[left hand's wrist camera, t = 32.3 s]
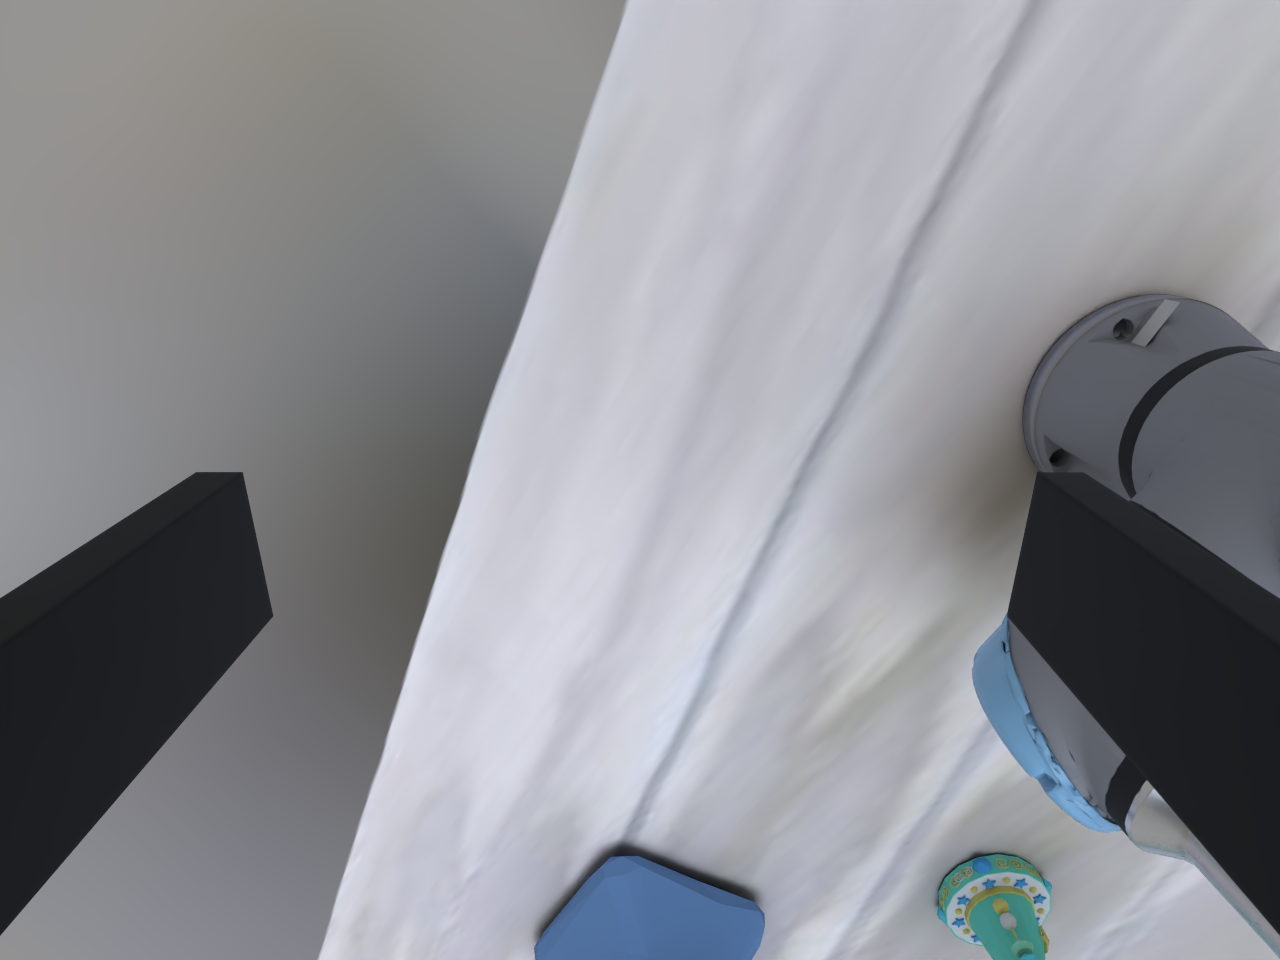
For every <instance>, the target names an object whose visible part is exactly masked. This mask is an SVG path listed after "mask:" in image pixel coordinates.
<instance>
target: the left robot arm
mask: <svg viewBox="0 0 1280 960" xmlns="http://www.w3.org/2000/svg"><path fill="white" fill-rule="evenodd" d="M1023 430H1024V438H1025V442H1026V446H1027V449H1028V451H1029V454H1030V456H1031V458H1032V460H1033V462H1034V463H1035V465H1036V466H1037V468H1038V469H1039V470H1040V471H1041V472H1037V476H1036V481H1035V486H1034V491H1033V495H1032V500H1031V505H1030V509H1029V514H1028V519H1027V523H1026V528H1025V533H1024V538H1023V542H1022V547H1021V552H1020V556H1019V561H1018V566H1017V570H1016V575H1015V580H1014V585H1013V589H1012V594H1011V599H1010V603H1009V608H1008V612H1007V614H1006V616H1005V618H1004V620H1003V622H1002V624H1001V625H1000V626H999V627H998V628H997V629H996V631H995V632H994V633H993V634H992V635H991V636H990V637H989V638H988V639H987V640H986V641H985V642H984V643H983V644H982V645H981V647H980V648H979V649H978V651H977V652H976V654H975V657H974V666H973V669H972V678H973V683H974V687H975V691H976V694H977V696H978V699H979V701H980V704H981V706H982V708H983V710H984V712H985V714H986V716H987V717H988V719H989V721H990V723H991V724H992V726H993V728H994V729H995V731H996V732H997V734H998V735H999V737H1000V738H1001V740H1002V741H1003V743H1004V744H1005V746H1006V747H1007V748H1008V750H1009V751H1010V753H1011V754H1012V755H1013V757H1014V758H1015V759H1016V760H1017V762H1018V763H1019V764H1020V765H1021V767H1022V768H1023V769H1024V770H1025V771H1026V772H1027V773H1028V774H1029V775H1030V776H1031V777H1034V778H1036V779H1037V780H1038V781H1039V783H1040V784H1041V786H1042V788H1043V789H1044V791H1045V792H1046V794H1047V795H1048V796H1049V797H1050V798H1051V799H1052V800H1053V801H1054V802H1055V803H1056V804H1057V805H1058V806H1059V807H1060V808H1061V809H1062V810H1064V811H1065V812H1066V813H1067V814H1068V815H1070V816H1071V817H1072V818H1074V819H1075V820H1076V821H1078V822H1079V823H1081V824H1082V825H1084V826H1086V827H1088V828H1090V829H1092V830H1096V831H1099V832H1103V833H1109V832H1112V831H1120V830H1123V831H1124V833H1125V834H1126V835H1127V836H1128V837H1129V839H1130V840H1131V841H1132V842H1133V843H1134V844H1135V845H1136V846H1137V847H1138V848H1139V849H1141V850H1143V851H1145V852H1149V853H1153V854H1158V855H1162V856H1167V857H1172V858H1177V859H1181V860H1185V861H1187V862H1189V863H1192V864H1194V865H1195V866H1196V867H1197V868H1198V869H1199V871H1200V872H1201V873H1202V874H1203V875H1204V876H1205V877H1206V878H1207V879H1208V880H1209V881H1210V883H1211V884H1212V885H1213V886H1214V887H1215V888H1216V889H1217V890H1218V891H1219V892H1220V894H1221V895H1222V896H1223V897H1224V898H1225V899H1226V900H1227V901H1228V902H1229V903H1230V904H1231V906H1232V907H1233V908H1234V909H1235V910H1236V911H1237V912H1238V913H1239V914H1240V915H1241V917H1242V918H1243V919H1244V920H1245V921H1246V922H1247V923H1248V924H1249V925H1250V926H1251V927H1252V929H1253V930H1254V931H1255V932H1256V933H1257V934H1258V935H1259V936H1260V937H1261V938H1262V940H1263V941H1264V942H1265V943H1266V944H1267V945H1268V946H1269V947H1270V948H1271V949H1272V951H1273V952H1274V953H1275V954H1276V955H1277V956H1278V957H1279V958H1280V352H1276V351H1272V350H1269V349H1268V348H1267V347H1266V346H1265V345H1263V344H1262V343H1261V342H1260V341H1259V340H1258V339H1257V338H1255V337H1254V336H1253V335H1252V334H1251V333H1250V332H1249V331H1247V330H1246V329H1245V328H1244V327H1243V326H1242V325H1241V324H1239V323H1238V322H1237V321H1236V320H1235V319H1233V318H1232V317H1231V316H1229V315H1228V314H1227V313H1225V312H1223V311H1222V310H1220V309H1218V308H1216V307H1214V306H1212V305H1210V304H1207V303H1204V302H1201V301H1197V300H1192V299H1187V298H1183V297H1178V296H1172V295H1143V296H1137V297H1132V298H1128V299H1124V300H1121V301H1118V302H1115V303H1112V304H1110V305H1107V306H1105V307H1103V308H1101V309H1099V310H1097V311H1095V312H1093V313H1092V314H1090V315H1088V316H1087V317H1085V318H1084V319H1082V320H1081V321H1079V322H1078V323H1077V324H1075V325H1074V326H1073V327H1072V328H1071V329H1069V330H1068V331H1067V332H1066V333H1065V334H1064V335H1063V336H1062V337H1061V338H1060V339H1059V340H1058V341H1057V342H1056V343H1055V344H1054V345H1053V347H1052V348H1051V349H1050V350H1049V352H1048V353H1047V354H1046V356H1045V357H1044V359H1043V360H1042V362H1041V363H1040V365H1039V367H1038V368H1037V370H1036V372H1035V374H1034V376H1033V378H1032V381H1031V383H1030V386H1029V389H1028V392H1027V395H1026V400H1025V404H1024V412H1023ZM272 617H273V613H272V608H271V603H270V599H269V594H268V589H267V585H266V580H265V575H264V570H263V566H262V561H261V556H260V552H259V547H258V542H257V538H256V533H255V528H254V524H253V519H252V514H251V509H250V505H249V500H248V495H247V491H246V486H245V481H244V476H243V473H242V472H196V473H194V474H193V475H191V476H190V477H188V478H187V479H185V480H183V481H182V482H180V483H179V484H177V485H176V486H174V487H173V488H171V489H170V490H168V491H167V492H165V493H163V494H162V495H160V496H159V497H157V498H156V499H154V500H152V501H151V502H149V503H148V504H146V505H145V506H143V507H142V508H140V509H138V510H137V511H135V512H134V513H132V514H131V515H129V516H128V517H126V518H124V519H123V520H121V521H120V522H118V523H117V524H115V525H114V526H112V527H111V528H109V529H107V530H106V531H104V532H103V533H101V534H100V535H98V536H96V537H95V538H93V539H92V540H90V541H89V542H87V543H86V544H84V545H82V546H81V547H79V548H78V549H76V550H75V551H73V552H72V553H70V554H68V555H67V556H65V557H64V558H62V559H61V560H59V561H58V562H56V563H54V564H53V565H51V566H50V567H48V568H47V569H45V570H44V571H42V572H40V573H39V574H37V575H36V576H34V577H33V578H31V579H30V580H28V581H26V582H25V583H23V584H22V585H20V586H19V587H17V588H16V589H14V590H12V591H11V592H9V593H8V594H6V595H5V596H3V597H2V598H0V935H1V934H2V933H3V932H4V930H5V929H6V928H7V927H8V926H9V925H10V924H11V922H12V921H13V920H14V919H15V918H16V917H17V915H18V914H19V913H20V912H21V911H22V909H23V908H24V907H25V906H26V905H27V904H28V902H29V901H30V900H31V899H32V898H33V897H34V895H35V894H36V893H37V892H38V891H39V890H40V888H41V887H42V886H43V885H44V884H45V883H46V881H47V880H48V879H49V878H50V877H51V876H52V874H53V873H54V872H55V871H56V870H57V869H58V867H59V866H60V865H61V864H62V863H63V862H64V860H65V859H66V858H67V857H68V856H69V854H70V853H71V852H72V851H73V850H74V849H75V847H76V846H77V845H78V844H79V843H80V842H81V840H82V839H83V838H84V837H85V836H86V835H87V833H88V832H89V831H90V830H91V829H92V828H93V826H94V825H95V824H96V823H97V822H98V820H99V819H100V818H101V817H102V816H103V815H104V814H105V812H106V811H107V810H108V809H109V808H110V807H111V805H112V804H113V803H114V802H115V801H116V799H117V798H118V797H119V796H120V795H121V794H122V792H123V791H124V790H125V789H126V788H127V787H128V785H129V784H130V783H131V782H132V781H133V780H134V778H135V777H136V776H137V775H138V774H139V773H140V771H141V770H142V769H143V768H144V767H145V765H146V764H147V763H148V762H149V761H150V760H151V759H152V757H153V756H154V755H155V754H156V753H157V751H158V750H159V749H160V748H161V747H162V746H163V744H164V743H165V742H166V741H167V740H168V739H169V737H170V736H171V735H172V734H173V733H174V732H175V730H176V729H177V728H178V727H179V726H180V725H181V723H182V722H183V721H184V720H185V719H186V718H187V716H188V715H189V714H190V713H191V712H192V711H193V709H194V708H195V707H196V706H197V705H198V704H199V702H200V701H201V700H202V699H203V698H204V696H205V695H206V694H207V693H208V692H209V691H210V690H211V688H212V687H213V686H214V685H215V684H216V682H217V681H218V680H219V679H220V678H221V677H222V675H223V674H224V673H225V672H226V671H227V670H228V668H229V667H230V666H231V665H232V664H233V663H234V661H235V660H236V659H237V658H238V657H239V656H240V654H241V653H242V652H243V651H244V650H245V649H246V647H247V646H248V645H249V644H250V643H251V642H252V640H253V639H254V638H255V637H256V636H257V635H258V633H259V632H260V631H261V630H262V629H263V627H264V626H265V625H266V624H267V623H268V622H269V620H270V619H271V618H272Z"/></svg>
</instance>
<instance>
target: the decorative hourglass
mask: <svg viewBox="0 0 1280 960" xmlns="http://www.w3.org/2000/svg"><path fill="white" fill-rule="evenodd" d="M1051 887H1052V885H1051V884H1050V883H1049V882H1048V881H1047V880H1045V879H1044V878H1043V877H1040V875H1039V874H1038V872H1037V871H1036V870H1035V868H1034V867H1033V865H1031V864H1029V863H1027V862H1026V861H1024V860H1022V859H1020V858H1018V857H1014V856H1007V855H1000V854H996V855H989V856H983V857H977V858H975V859H973V860H970V861H968V862H966V863H964V864H961V865H959V866H958V867H957V868H956V869H955V870H953V871H952V872H951V873H950V874H949V875H948V876H947V877H946V878H945V879H944V881H943V883H942V885H941V888H940V890H939V892H938V896H939V907H938V911H937V915H938V918H939V919H940V920H942V921H943V922H944V923H945V924H947V925H948V927H949V928H950V929H951V931H952V932H953V934H954V935H955V936H956V937H958V938H960V939H962V940H964V941H966V942H968V943H969V944H975V945H981V946H984V947H985V948H986V950H987V951H988V953H989V954H990V956H991V957H992V959H993V960H1045V953H1047V952H1048V946H1049V939H1048V937H1047V936H1046V934H1045V932H1044V930H1043V928H1042V926H1041V925H1043V923H1044V921H1045V919H1046V918H1047V916H1048V914H1049V912H1050V911H1051V895H1050V893H1051ZM1039 928H1040V929H1039ZM1040 930H1041V932H1040ZM1041 933H1042V935H1041Z"/></svg>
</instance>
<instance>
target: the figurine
mask: <svg viewBox="0 0 1280 960" xmlns="http://www.w3.org/2000/svg"><path fill="white" fill-rule="evenodd" d="M764 927H765V921H764V913H763V912H762V911H761V909H760V908H759V907H758V906H757V905H756V903H755V902H753V901H750V900H748V899H745V898H742V897H740V896H737V895H734V894H732V893H729V892H726V891H724V890H721V889H718V888H716V887H713V886H710V885H708V884H705V883H702V882H700V881H697V880H695V879H692V878H690V877H687V876H685V875H683V874H680V873H678V872H675V871H673V870H671V869H668V868H666V867H663V866H661V865H659V864H656V863H654V862H651V861H649V860H647V859H644V858H642V857H640V856H619V857H610V858H609V859H608V860H607V861H606V862H605V863H604V864H603V865H602V866H601V867H600V868H599V869H598V870H597V871H596V872H595V873H593V874H592V875H591V876H590V877H589V878H588V879H587V881H586V882H585V883H584V884H583V885H582V887H581V888H580V889H579V890H578V891H577V893H576V894H575V895H574V896H573V897H572V899H571V900H570V901H569V902H568V903H567V905H566V906H565V907H564V908H563V909H562V911H561V912H560V913H559V914H558V915H557V917H556V918H555V919H554V920H553V921H552V923H551V924H550V925H549V926H548V927H547V929H546V930H545V931H544V933H543V934H542V936H541V937H540V939H539V941H538V942H537V944H536V946H535V947H534V950H535V960H751V959H752V958H753V956H754V955H755V953H756V951H757V950H758V948H759V946H760V943H761V939H762V936H763V932H764Z"/></svg>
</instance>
